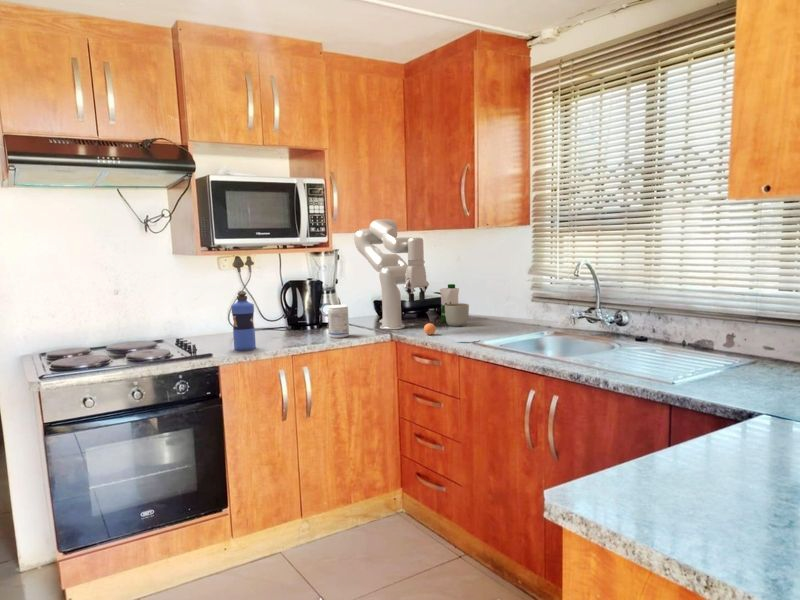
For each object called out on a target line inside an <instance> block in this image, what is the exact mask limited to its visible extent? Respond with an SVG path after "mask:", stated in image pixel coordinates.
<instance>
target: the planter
mask: <svg viewBox="0 0 800 600" xmlns="http://www.w3.org/2000/svg"><path fill="white" fill-rule="evenodd" d="M469 311H470V305H469V303H463V302H462V303H459V302H458V303H453V304H446V305H445V316H446V322H445V323H446V324H448V325H449V326H451V327H464V326H465V325H467V324H468V321H469ZM463 325H464V326H463Z"/></svg>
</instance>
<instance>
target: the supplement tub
mask: <svg viewBox="0 0 800 600" xmlns="http://www.w3.org/2000/svg"><path fill="white" fill-rule="evenodd" d="M327 316H328V317H327V318H328V336H329V337H330V338H332V339H334V338H335V339H340V338H341V339H342V338H346V337H348V336H349V335H350V330H349V329H350V326H349V306H348V305H347V304H333V305H328V307H327Z"/></svg>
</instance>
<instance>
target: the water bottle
mask: <svg viewBox="0 0 800 600" xmlns="http://www.w3.org/2000/svg"><path fill="white" fill-rule="evenodd" d="M236 300H237V301H236V302H235V303H233V304H231V307H230V309H231V314H232V315H231V316H232V320H233V327H232V328H233V329H232V330H233V331H232V335H233V350H234V351H239V352H240V351H242V352H243V351H252V350H255V349H256V347H257V346H256V345H257V343H256V330H255V329H256V328H255V324H254V323H255V322H254V315H255V314H254V313H255V305H254V303H252V302H250V301H248V295H247V292H246V291H244V290H240V291H238V292H237V296H236Z"/></svg>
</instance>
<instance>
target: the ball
mask: <svg viewBox="0 0 800 600" xmlns="http://www.w3.org/2000/svg"><path fill="white" fill-rule="evenodd" d="M436 329H437V328H436V326H435V325H434V323H431V322H429V323H426V324H425V325H424V326H423V331H424V333H425V335H429V336H432V335H434V334H435V333H436ZM431 334H432V335H431Z"/></svg>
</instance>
